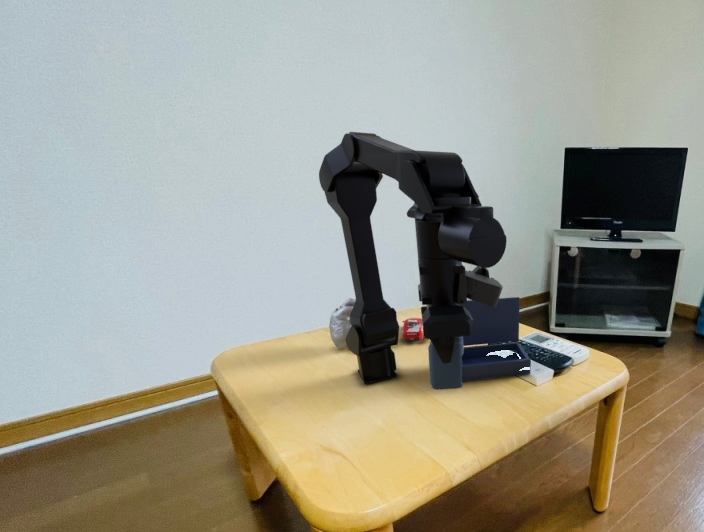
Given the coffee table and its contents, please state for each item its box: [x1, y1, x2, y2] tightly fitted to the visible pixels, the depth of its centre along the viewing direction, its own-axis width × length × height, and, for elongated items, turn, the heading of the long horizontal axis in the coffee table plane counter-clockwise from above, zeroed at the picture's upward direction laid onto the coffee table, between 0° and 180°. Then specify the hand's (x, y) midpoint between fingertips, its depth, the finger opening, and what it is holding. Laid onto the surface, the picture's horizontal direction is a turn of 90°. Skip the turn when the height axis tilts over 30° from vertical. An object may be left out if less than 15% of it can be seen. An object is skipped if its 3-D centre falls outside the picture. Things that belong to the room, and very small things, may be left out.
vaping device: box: [427, 336, 464, 391], centre depth 59 cm, size 3×5×12 cm, turn 101°
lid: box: [455, 296, 521, 347], centre depth 87 cm, size 10×15×5 cm
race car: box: [401, 317, 425, 342], centre depth 101 cm, size 13×5×4 cm, turn 9°
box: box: [461, 341, 532, 382], centre depth 84 cm, size 10×15×3 cm, turn 105°
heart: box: [328, 297, 356, 351], centre depth 92 cm, size 10×10×12 cm
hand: (445, 358), depth 60 cm, fingers closed on vaping device, 2 cm apart
